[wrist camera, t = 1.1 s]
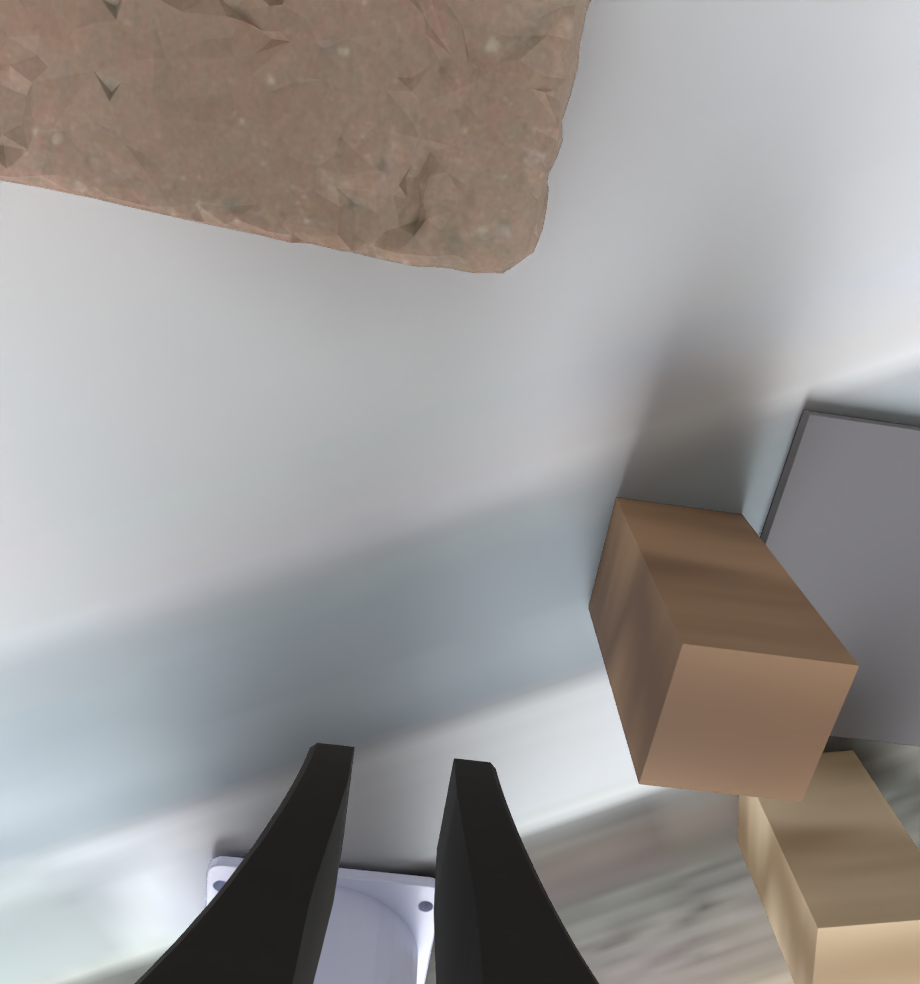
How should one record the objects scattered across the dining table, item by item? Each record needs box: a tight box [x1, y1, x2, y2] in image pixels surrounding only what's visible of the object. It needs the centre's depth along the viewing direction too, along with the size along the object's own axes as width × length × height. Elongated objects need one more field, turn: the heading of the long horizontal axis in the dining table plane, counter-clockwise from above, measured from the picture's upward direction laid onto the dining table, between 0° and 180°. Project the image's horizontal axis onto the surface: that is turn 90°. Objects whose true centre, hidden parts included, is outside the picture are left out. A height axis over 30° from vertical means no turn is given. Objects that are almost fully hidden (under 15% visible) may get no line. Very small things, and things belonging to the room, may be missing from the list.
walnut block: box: [589, 498, 859, 802], centre depth 19 cm, size 4×4×7 cm
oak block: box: [737, 750, 920, 984], centre depth 24 cm, size 4×4×6 cm
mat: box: [761, 410, 920, 746], centre depth 23 cm, size 10×10×1 cm
